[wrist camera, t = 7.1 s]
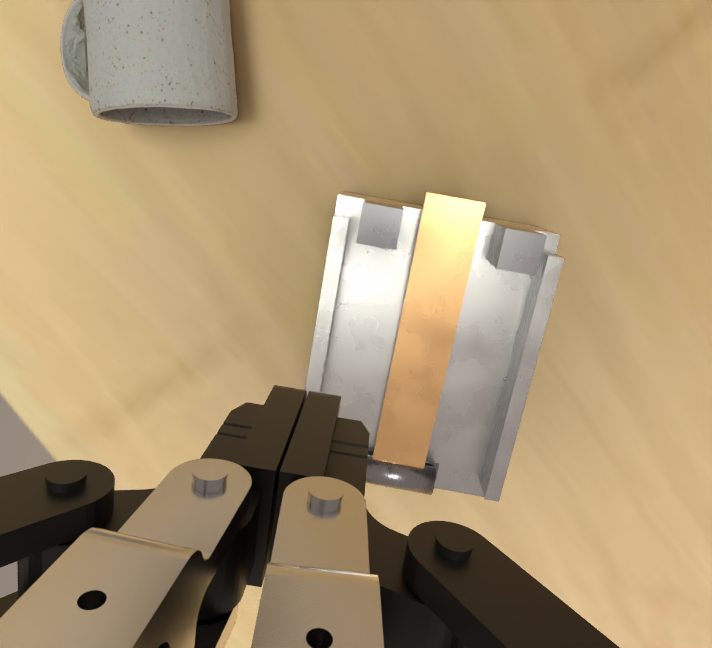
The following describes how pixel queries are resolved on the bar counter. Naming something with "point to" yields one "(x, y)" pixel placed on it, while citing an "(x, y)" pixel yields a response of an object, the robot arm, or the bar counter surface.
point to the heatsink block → (471, 343)
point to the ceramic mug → (152, 60)
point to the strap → (424, 342)
